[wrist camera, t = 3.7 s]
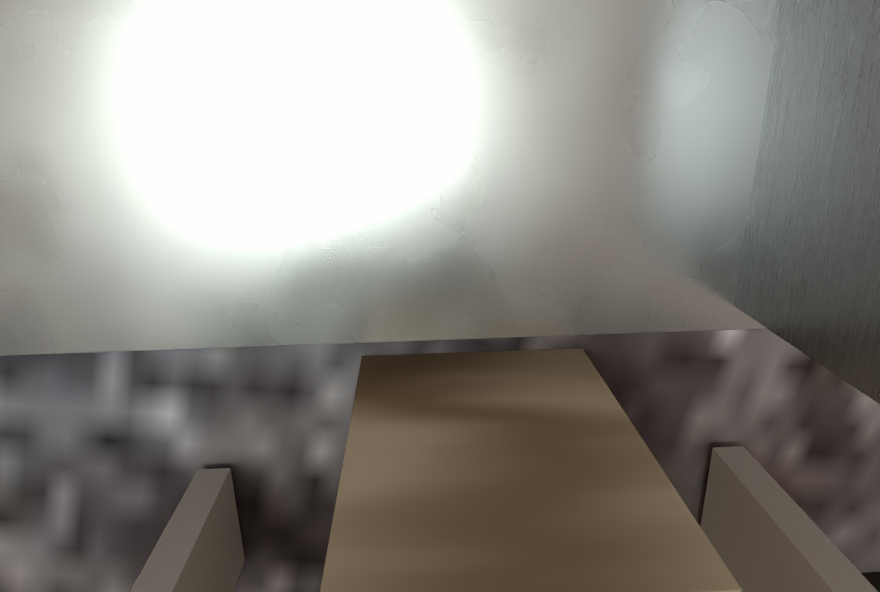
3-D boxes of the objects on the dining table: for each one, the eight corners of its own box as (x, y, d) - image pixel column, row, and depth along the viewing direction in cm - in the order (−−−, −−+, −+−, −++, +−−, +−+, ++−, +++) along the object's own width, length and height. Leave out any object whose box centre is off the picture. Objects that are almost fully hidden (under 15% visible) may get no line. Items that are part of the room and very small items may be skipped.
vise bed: (-340, 338, 12) (-436, 370, 11) (-632, -262, 9) (-822, -326, 8) (784, 300, 13) (827, 325, 12) (885, -256, 10) (962, -310, 9)
